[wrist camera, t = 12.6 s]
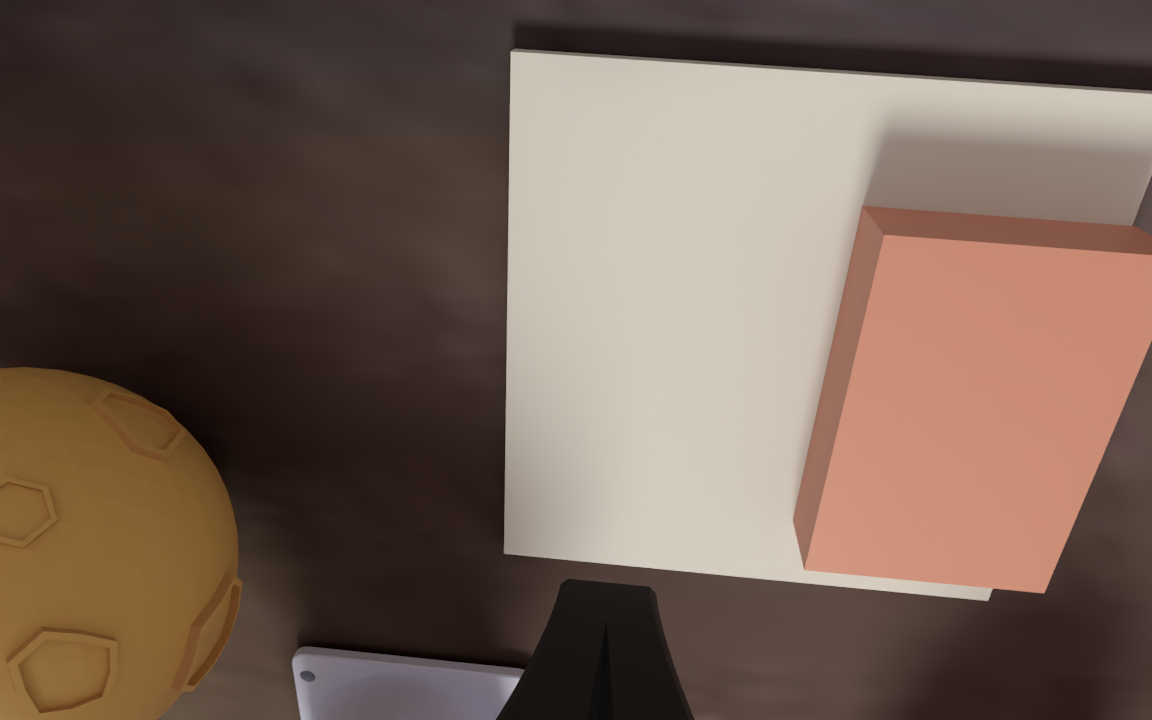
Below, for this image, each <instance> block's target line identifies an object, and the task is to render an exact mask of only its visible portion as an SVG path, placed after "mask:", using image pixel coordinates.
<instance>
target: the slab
mask: <svg viewBox="0 0 1152 720" xmlns="http://www.w3.org/2000/svg"><path fill="white" fill-rule="evenodd" d="M1151 341H1152V236H1150V235H1149V234H1147V233H1145V232H1144V231H1142V230H1141V229H1139V228H1137V227H1136V226H1126V225H1113V224H1099V223H1086V222H1072V221H1059V220H1045V219H1032V218H1018V217H1005V216H992V215H978V214H965V213H951V212H938V211H924V210H911V209H897V208H884V207H871V206H862V209H861V214H860V218H859V223H858V227H857V232H856V236H855V241H854V245H853V250H852V254H851V259H850V263H849V268H848V272H847V277H846V281H845V286H844V291H843V295H842V300H841V304H840V309H839V313H838V318H837V322H836V327H835V331H834V336H833V340H832V345H831V349H830V354H829V358H828V363H827V367H826V372H825V376H824V381H823V386H822V390H821V395H820V399H819V404H818V408H817V413H816V417H815V422H814V426H813V431H812V435H811V440H810V444H809V449H808V453H807V458H806V462H805V467H804V471H803V476H802V480H801V485H800V490H799V494H798V499H797V503H796V508H795V512H794V517H793V524H794V528H795V533H796V537H797V541H798V545H799V550H800V554H801V558H802V562H803V567H804V570H808V571H818V572H829V573H839V574H849V575H860V576H870V577H880V578H891V579H901V580H911V581H922V582H932V583H942V584H953V585H963V586H973V587H984V588H994V589H1004V590H1015V591H1025V592H1035V593H1045V590H1046V588H1047V586H1048V583H1049V581H1050V579H1051V576H1052V574H1053V571H1054V569H1055V567H1056V564H1057V562H1058V560H1059V557H1060V555H1061V553H1062V550H1063V548H1064V546H1065V543H1066V541H1067V538H1068V536H1069V534H1070V531H1071V529H1072V527H1073V524H1074V522H1075V520H1076V517H1077V515H1078V513H1079V510H1080V508H1081V506H1082V503H1083V501H1084V498H1085V496H1086V494H1087V491H1088V489H1089V487H1090V484H1091V482H1092V480H1093V477H1094V475H1095V473H1096V470H1097V468H1098V465H1099V463H1100V461H1101V458H1102V456H1103V454H1104V451H1105V449H1106V447H1107V444H1108V442H1109V440H1110V437H1111V435H1112V432H1113V430H1114V428H1115V425H1116V423H1117V421H1118V418H1119V416H1120V414H1121V411H1122V409H1123V407H1124V404H1125V402H1126V399H1127V397H1128V395H1129V392H1130V390H1131V388H1132V385H1133V383H1134V381H1135V378H1136V376H1137V374H1138V371H1139V369H1140V366H1141V364H1142V362H1143V359H1144V357H1145V355H1146V352H1147V350H1148V348H1149V345H1150V343H1151Z"/></svg>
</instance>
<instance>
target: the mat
mask: <svg viewBox="0 0 1152 720" xmlns="http://www.w3.org/2000/svg"><path fill="white" fill-rule="evenodd" d="M1151 175H1152V91H1147V90H1132V89H1117V88H1102V87H1087V86H1072V85H1057V84H1042V83H1027V82H1011V81H996V80H981V79H966V78H951V77H936V76H921V75H906V74H890V73H875V72H860V71H845V70H830V69H815V68H800V67H785V66H770V65H754V64H739V63H724V62H709V61H694V60H679V59H664V58H649V57H634V56H618V55H603V54H588V53H573V52H558V51H543V50H528V49H513V50H512V51H511V72H510V146H509V220H508V293H507V367H506V441H505V514H504V554H512V555H522V556H532V557H543V558H553V559H563V560H573V561H584V562H594V563H604V564H614V565H625V566H635V567H645V568H655V569H666V570H676V571H686V572H696V573H707V574H717V575H727V576H737V577H748V578H758V579H768V580H778V581H789V582H799V583H809V584H819V585H830V586H840V587H850V588H860V589H871V590H881V591H891V592H901V593H912V594H922V595H932V596H943V597H953V598H963V599H973V600H984V601H988V600H989V597H990V595H991V592H992V589H993V588H984V587H973V586H963V585H953V584H942V583H932V582H922V581H911V580H901V579H891V578H880V577H870V576H860V575H849V574H839V573H829V572H818V571H808V570H804V567H803V562H802V558H801V554H800V550H799V545H798V541H797V537H796V533H795V528H794V524H793V517H794V512H795V508H796V503H797V499H798V494H799V490H800V485H801V480H802V476H803V471H804V467H805V462H806V458H807V453H808V449H809V444H810V440H811V435H812V431H813V426H814V422H815V417H816V413H817V408H818V404H819V399H820V395H821V390H822V386H823V381H824V376H825V372H826V367H827V363H828V358H829V354H830V349H831V345H832V340H833V336H834V331H835V327H836V322H837V318H838V313H839V309H840V304H841V300H842V295H843V291H844V286H845V281H846V277H847V272H848V268H849V263H850V259H851V254H852V250H853V245H854V241H855V236H856V232H857V227H858V223H859V218H860V214H861V209H862V206H871V207H884V208H897V209H911V210H924V211H938V212H951V213H965V214H978V215H992V216H1005V217H1018V218H1032V219H1045V220H1059V221H1072V222H1086V223H1099V224H1113V225H1126V226H1132V225H1133V222H1134V220H1135V217H1136V214H1137V212H1138V209H1139V207H1140V204H1141V201H1142V199H1143V196H1144V194H1145V191H1146V188H1147V186H1148V183H1149V181H1150V178H1151Z"/></svg>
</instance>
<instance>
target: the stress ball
mask: <svg viewBox="0 0 1152 720" xmlns="http://www.w3.org/2000/svg"><path fill="white" fill-rule="evenodd" d="M237 569H238V532H237V527H236V522H235V517H234V512H233V508H232V505H231V502H230V498H229V495H228V491H227V489H226V487H225V485H224V483H223V481H222V478H221V476H220V474H219V472H218V470H217V468H216V467H215V465H214V464H213V462H212V461H211V459H210V458H209V456H208V455H207V453H206V452H205V450H204V449H203V447H202V446H201V445H200V444H199V443H198V442H197V440H196V439H195V438H194V437H193V436H192V435H191V434H190V433H189V432H188V430H187V429H186V428H185V427H184V426H182V425H181V424H180V423H179V422H177V421H176V420H175V418H174V417H173V416H172V415H171V414H170V413H169V412H168V411H167V410H166V409H164V408H161V407H159V406H157V405H155V404H153V403H151V402H150V401H148V400H147V399H145V398H144V397H142V396H140V395H138V394H135V393H133V392H131V391H129V390H127V389H124V388H122V387H120V386H118V385H116V384H113V383H110V382H107V381H104V380H101V379H98V378H95V377H92V376H87V375H82V374H78V373H73V372H68V371H63V370H55V369H42V368H29V367H18V368H0V720H157V719H158V718H159V717H160V716H162V715H163V714H164V713H165V712H166V711H167V710H168V709H169V708H170V707H171V706H172V705H173V704H174V703H175V701H176V700H177V699H178V698H179V697H180V696H181V695H182V693H183V692H191V693H192V691H193V690H194V689H195V688H196V686H197V685H198V684H199V683H200V682H201V680H202V679H203V678H204V677H205V675H206V674H207V673H208V672H209V671H210V669H211V668H212V667H213V666H214V664H215V662H216V660H217V659H218V657H219V655H220V654H221V652H222V650H223V649H224V647H225V645H226V643H227V642H228V640H229V638H230V635H231V632H232V629H233V626H234V622H235V619H236V616H237V613H238V610H239V603H240V596H241V590H242V583H243V582H242V581H241V580H239V579H238V578H237Z"/></svg>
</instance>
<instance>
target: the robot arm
mask: <svg viewBox="0 0 1152 720" xmlns="http://www.w3.org/2000/svg"><path fill="white" fill-rule="evenodd" d="M292 667H293V673H294V679H295V686H296V692H297V699H298V705H299V712H300V718H301V720H694V718H693V715H692V713H691V710H690V708H689V705H688V702H687V700H686V697H685V695H684V692H683V689H682V687H681V684H680V682H679V679H678V676H677V673H676V670H675V667H674V664H673V661H672V658H671V655H670V652H669V649H668V645H667V642H666V639H665V635H664V631H663V628H662V624H661V620H660V615H659V610H658V605H657V599H656V593H655V592H654V591H653V590H652V589H651V588H650V587H646V586H636V585H626V584H616V583H606V582H596V581H585V580H575V579H568V580H566V581H565V582H563V583H562V584H561V586H560V589H559V593H558V597H557V600H556V603H555V606H554V608H553V611H552V614H551V616H550V619H549V621H548V623H547V626H546V628H545V630H544V632H543V634H542V637H541V639H540V641H539V643H538V645H537V647H536V649H535V651H534V653H533V655H532V657H531V659H530V661H529V663H528V664H527V666H526V668H525V670H523V669H519V668H510V667H501V666H491V665H481V664H472V663H462V662H453V661H443V660H434V659H424V658H415V657H405V656H395V655H386V654H376V653H367V652H357V651H348V650H338V649H328V648H319V647H301V648H299V649H298V650H297V651H296V653H295V655H294V657H293V659H292Z"/></svg>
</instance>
